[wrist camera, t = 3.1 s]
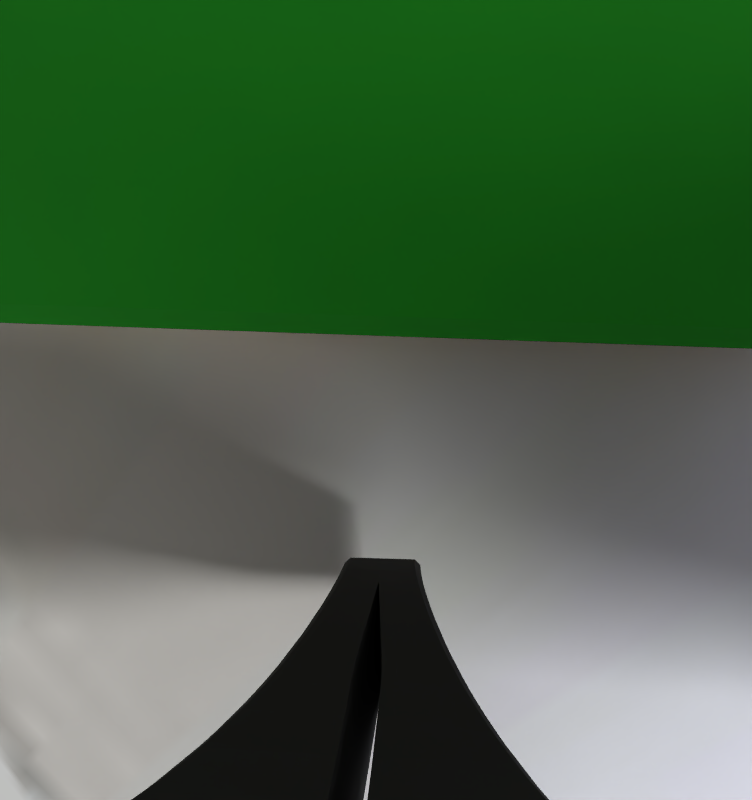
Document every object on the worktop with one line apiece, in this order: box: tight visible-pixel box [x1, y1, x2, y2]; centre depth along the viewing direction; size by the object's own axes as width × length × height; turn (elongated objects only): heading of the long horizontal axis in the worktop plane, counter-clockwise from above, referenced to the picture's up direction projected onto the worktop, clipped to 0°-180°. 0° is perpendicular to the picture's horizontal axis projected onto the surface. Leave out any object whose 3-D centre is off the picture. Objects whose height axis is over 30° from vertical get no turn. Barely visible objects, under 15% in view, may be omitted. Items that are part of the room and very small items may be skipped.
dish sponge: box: [0, 0, 752, 349], centre depth 10 cm, size 7×14×2 cm, turn 89°
